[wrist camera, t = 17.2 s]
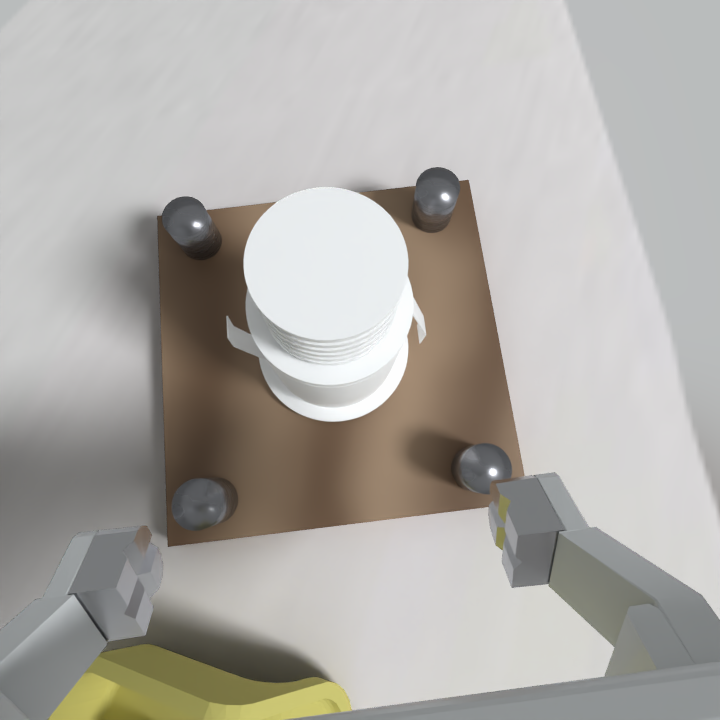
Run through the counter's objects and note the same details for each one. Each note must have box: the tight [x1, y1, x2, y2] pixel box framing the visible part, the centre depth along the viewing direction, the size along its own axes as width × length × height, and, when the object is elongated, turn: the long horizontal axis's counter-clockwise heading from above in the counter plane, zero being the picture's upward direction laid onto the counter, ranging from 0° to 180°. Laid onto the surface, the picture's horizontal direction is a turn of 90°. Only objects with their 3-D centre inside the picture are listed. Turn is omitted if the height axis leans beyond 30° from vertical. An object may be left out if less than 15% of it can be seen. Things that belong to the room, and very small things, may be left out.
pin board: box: [157, 167, 525, 547], centre depth 23 cm, size 16×16×4 cm
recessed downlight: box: [226, 187, 426, 422], centre depth 19 cm, size 8×7×10 cm
